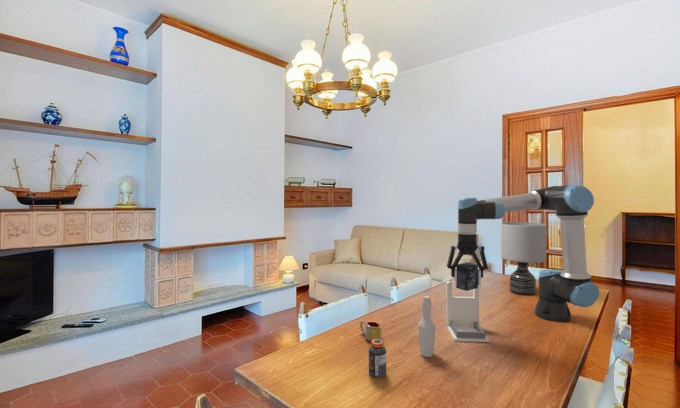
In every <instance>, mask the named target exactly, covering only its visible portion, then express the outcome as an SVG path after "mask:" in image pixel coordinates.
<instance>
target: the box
mask: <svg viewBox="0 0 680 408" xmlns="http://www.w3.org/2000/svg"><path fill="white" fill-rule="evenodd" d="M455 269H456V270H457V285H455V288H456V289H458V290H461V291H466V292H467V291H471V290H473V289H475V288H478V269H479V267H478V265H477V264H476V263H474V262H473V263H471V262H469V261H468V262H464V263H463V262H462V263H458V265H457V266H456V268H455Z"/></svg>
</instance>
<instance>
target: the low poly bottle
mask: <svg viewBox="0 0 680 408" xmlns="http://www.w3.org/2000/svg"><path fill="white" fill-rule="evenodd" d="M421 304H422V318H421V320H420V321H419V322H418V342H419V349H420V355H421V356H423V357H425V358H431V357H433V356H434V351H435V350H434V349H435V342H436V323H435V322H434V321H433V319H432V318H431V316H432V315H431V310H432V300H431V297H430V296H428V295H425V296H423V297H422V303H421Z"/></svg>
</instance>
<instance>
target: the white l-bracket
mask: <svg viewBox="0 0 680 408" xmlns="http://www.w3.org/2000/svg"><path fill="white" fill-rule="evenodd" d="M452 285H453V283H452V281H450V280H447V281H445V289H446V290H445V300H446V301H445V306H446V307H445V308H446V309H445V315H446V316H445V319H446V321H445V326H446V329H447V331H448V332H449V334H450V335H451V338H452V339H453V341H454V342H472V343H473V342H474V343H490V338H488V337H487V335H486V332H485V331H484V329H483V328H482V327H481V325H480V286H479V285H478V288H475V289H472V296H452V294H453V293H452V292H453V291H452V288H453V287H452Z"/></svg>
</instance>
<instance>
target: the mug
mask: <svg viewBox="0 0 680 408" xmlns="http://www.w3.org/2000/svg"><path fill="white" fill-rule="evenodd" d="M363 325H365V327H364V328H363ZM359 326H360V330H361V331H362V333H363V334H364V335H365V338H366V340H367V341H368V342H370V343H371V341H372V340H373V339H381V340H382V341H383V338H382V334H383V333H382V328H381V326H380V323H378V322H377V321H367V322H366V321H365V320H362V321H360V324H359Z"/></svg>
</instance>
